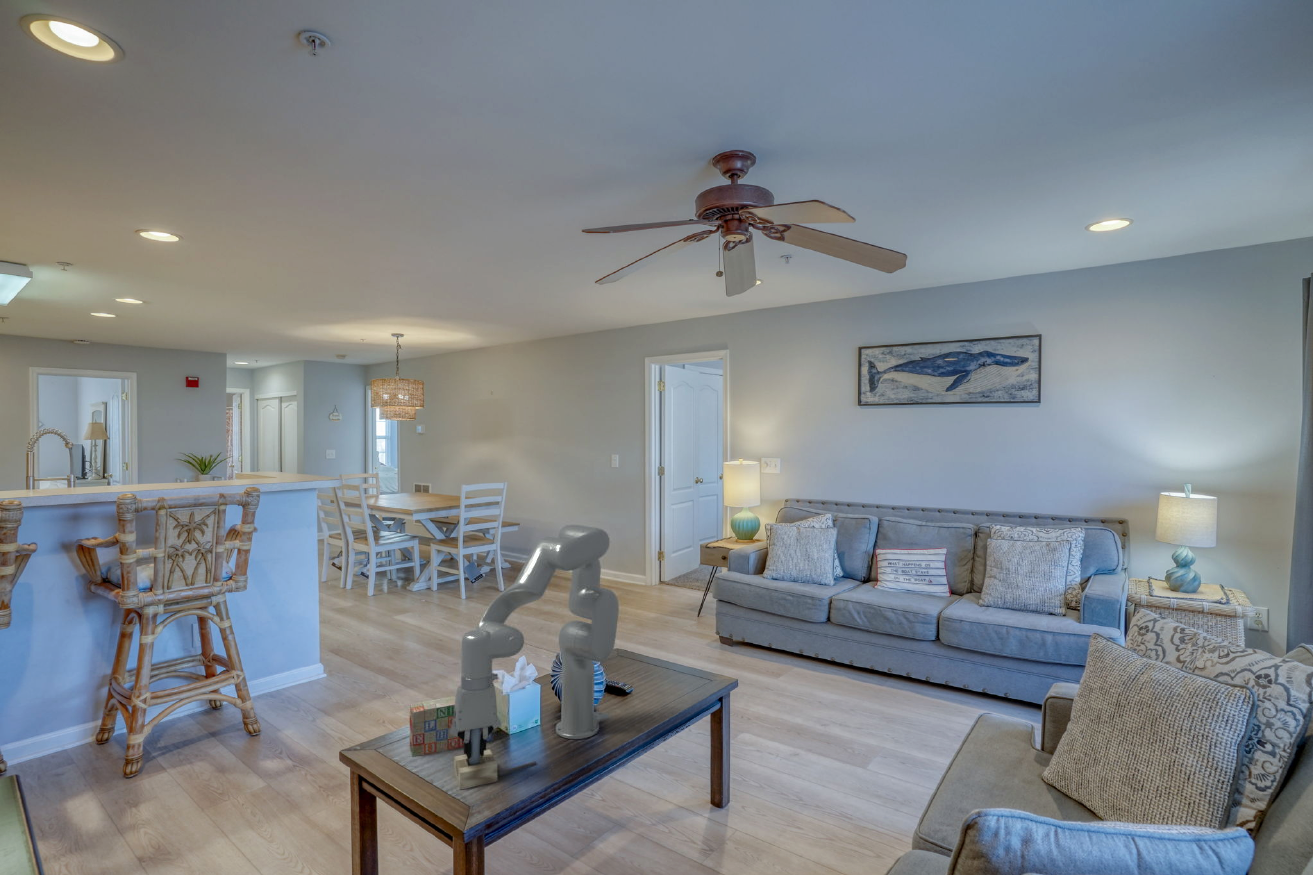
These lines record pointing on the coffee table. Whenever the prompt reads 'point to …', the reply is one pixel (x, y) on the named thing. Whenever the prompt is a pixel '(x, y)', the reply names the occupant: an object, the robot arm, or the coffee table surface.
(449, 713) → the stack of blocks
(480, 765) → the beige hollow block
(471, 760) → the grey peg
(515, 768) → the dark brown rod
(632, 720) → the coffee table surface
